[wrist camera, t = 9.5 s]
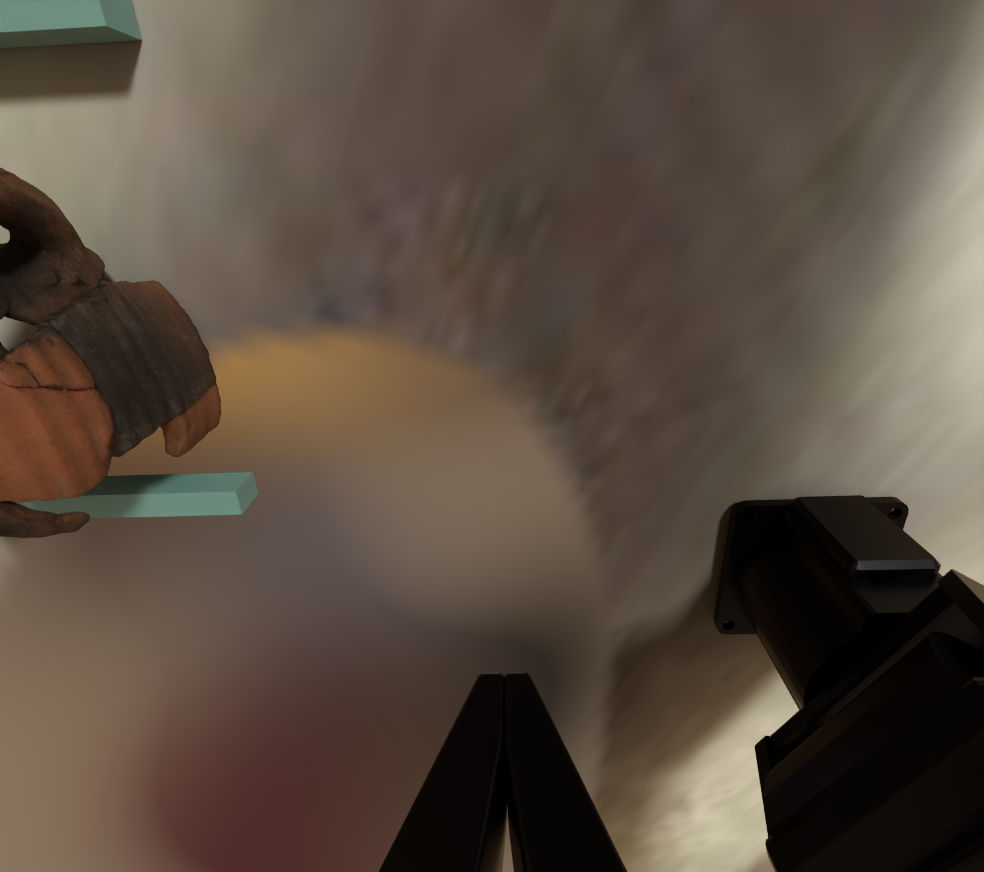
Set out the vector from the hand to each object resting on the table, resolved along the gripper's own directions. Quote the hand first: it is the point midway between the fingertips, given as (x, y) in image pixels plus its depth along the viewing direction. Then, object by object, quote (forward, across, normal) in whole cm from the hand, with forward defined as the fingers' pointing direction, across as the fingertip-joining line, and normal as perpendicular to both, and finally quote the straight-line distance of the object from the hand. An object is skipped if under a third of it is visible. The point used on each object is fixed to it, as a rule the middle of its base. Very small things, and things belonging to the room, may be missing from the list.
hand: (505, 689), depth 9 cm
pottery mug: (+12, +15, -3) cm, 20 cm away
